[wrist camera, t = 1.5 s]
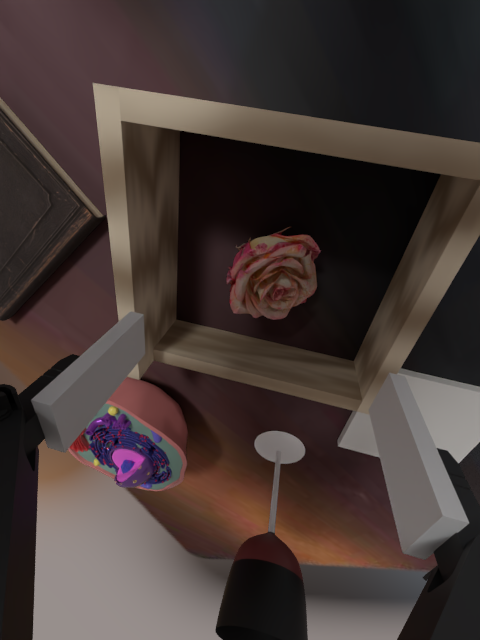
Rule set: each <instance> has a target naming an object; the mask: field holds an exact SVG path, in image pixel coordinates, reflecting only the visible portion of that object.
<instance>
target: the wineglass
mask: <svg viewBox="0 0 480 640" xmlns="http://www.w3.org/2000/svg"><path fill="white" fill-rule="evenodd" d="M254 446H255V449H256V451H257V452H258V453H259V454H260V455H261V456H262V457H264V458H265V459H267V460H269V461H272V462H275V470H274V480H273V489H272V499H271V509H270V518H269V528H268V533H265V534H261V535H256V536H254V537H251V538H249V539H248V540H246V541H245V542H244V543H243V544H242V545H241V547H240V548H239V550H238V552H237V554H236V557H235V559H234V562H233V564H232V567H231V570H230V574H229V577H228V580H227V583H226V587H225V591H224V595H223V599H222V603H221V607H220V611H219V616H218V621H217V625H216V633H217V635H218V636H219V637H220V638H222V639H223V640H308V638H307V616H306V601H305V592H304V583H303V578H302V573H301V570H300V566H299V563H298V561H297V559H296V557H295V556H294V554H293V553H292V551H291V550H290V549H289V548H288V547H287V545H286V544H285V543H283V542H282V541H281V540H280V539H279V538H278V537H277V536H276V535H275V522H276V511H277V499H278V488H279V476H280V464H290V463H294V462H297V461H299V460H301V459H302V457H303V456H304V455H305V447H304V445H303V443H302V442H301V441H300V440H299V439H298V438H296V437H295V436H293V435H291V434H288V433H286V432H281V431H268V432H265V433H262V434H260V435H259V436H257V438H256V440H255V443H254Z"/></svg>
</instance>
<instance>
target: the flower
mask: <svg viewBox="0 0 480 640" xmlns="http://www.w3.org/2000/svg"><path fill="white" fill-rule="evenodd" d="M288 228H290V227H288ZM288 228H285V229H284V230H282V231H279V232H277V233H274V234H271V235H269V236H264V237H259V238H256V239H254V240H253V241H251V240H250V238H249V241H248V243H243V244H242V245H241V246H239V247H237V245H236V248H240V249H238V250H239V252H238V253H237V254H236V256H235V258H234V262H233V267H231V266H230V267H228V268H229V271H228V274H227V279H226V282H227V284H229V283H230V284H231V288H230V289H229V290H230V306H231V309H232V311H233V313H235V314H244V313H246V314H251V315H252V316H253V317H254V318H258V317H260V316H262V315H264V316H265V317H266V318H269V319H273V320H276V319H282V318H285V317H286V316H287V315H288V313H289V311H290V309H291V308H292V307H295V306H297V305H298V304H301V303H305V302H306V300H307V297H308V298H309V297H310V296H311V295H313V294H314V292H315V290H316V288H317V279H316V268H315V264H314V263H313V262H314V259H315V258H317V257H318V254H319V253H320V252H321V250H319V249H320V248H319V247H318V245H317V244H316V243H315V241H314V240H313V239H312V238H311V237H310V236H309V235H303V234H301V235H293V236H283V235H281V234H282V232H283V231H285V230H286V229H288ZM241 247H242V248H241Z"/></svg>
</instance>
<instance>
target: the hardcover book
mask: <svg viewBox="0 0 480 640" xmlns="http://www.w3.org/2000/svg"><path fill="white" fill-rule="evenodd" d="M105 217H106V215H104V216H103V215H102V214H101V213H100V212H99V211H98V209H97V208H96V207H95V206H94V205H93V204H92V203H91V201H90V200H89V199H88V198H87V197H86V196H85V195H84V193H83V192H82V191H81V190H80V189H79V188H78V186H77V185H76V184H75V183H74V182H73V181H72V180H71V178H70V177H69V176H68V175H67V174H66V173H65V171H64V170H63V169H62V168H61V167H60V166H59V165H58V163H57V162H56V161H55V160H54V159H53V158H52V156H51V155H50V154H49V153H48V152H47V151H46V150H45V148H44V147H43V146H42V145H41V144H40V143H39V141H38V140H37V139H36V138H35V137H34V136H33V135H32V133H31V132H30V131H29V130H28V129H27V128H26V127H25V125H24V124H23V123H22V122H21V121H20V120H19V118H18V117H17V116H16V115H15V114H14V113H13V112H12V110H11V109H10V108H9V107H8V106H7V105H6V103H5V102H4V101H3V100H2V99H1V98H0V320H2V321H3V320H7V319H9V318H10V317H12V316H13V315H14V314H15V313H16V312H17V311H18V310H19V309H20V308H21V306H22V305H23V304H24V303H25V302H26V301H27V300H28V299H29V298H30V297H31V296H32V295H33V294H34V293H35V292H36V291H37V290H38V288H39V287H40V286H41V285H42V284H43V283H44V282H45V281H46V280H47V279H48V278H49V277H50V276H51V275H52V274H53V273H54V272H55V270H56V269H57V268H58V267H59V266H60V265H61V264H62V263H63V262H64V261H65V260H66V259H67V258H68V257H69V256H70V255H71V254H72V252H73V251H74V250H75V249H76V248H77V247H78V246H79V245H80V244H81V243H82V242H83V241H84V240H85V239H86V238H87V237H88V235H89V234H90V233H91V232H92V231H93V230H94V229H95V228H96V227H97V226H98V225H99V224H100V223H101V222H102V221H103V220H104V219H105Z"/></svg>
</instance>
